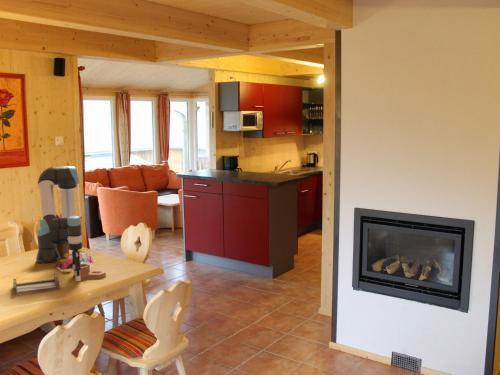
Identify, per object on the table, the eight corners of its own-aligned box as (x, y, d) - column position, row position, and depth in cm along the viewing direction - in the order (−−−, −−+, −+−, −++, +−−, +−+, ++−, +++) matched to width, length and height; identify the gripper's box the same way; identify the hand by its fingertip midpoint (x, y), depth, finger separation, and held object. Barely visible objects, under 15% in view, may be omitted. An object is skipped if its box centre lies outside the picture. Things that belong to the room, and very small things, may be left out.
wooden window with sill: (13, 286, 281) (13, 278, 280) (57, 281, 290) (56, 273, 290) (13, 296, 265) (13, 287, 265) (59, 289, 275) (59, 281, 274)
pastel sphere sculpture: (50, 266, 323) (49, 252, 322) (85, 259, 339) (84, 246, 337) (64, 274, 304) (64, 259, 303) (101, 267, 320) (100, 253, 319)
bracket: (73, 278, 295) (72, 267, 294) (78, 274, 303) (78, 263, 302) (102, 279, 294) (102, 267, 293) (107, 274, 302) (107, 263, 301)
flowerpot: (74, 252, 356) (72, 210, 352) (68, 257, 342) (66, 214, 338) (54, 252, 355) (51, 211, 351) (47, 257, 341) (44, 214, 337)
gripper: (66, 238, 302) (68, 273, 305) (70, 247, 280) (72, 284, 283) (79, 237, 305) (81, 271, 308) (84, 246, 283) (86, 282, 286)
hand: (77, 278), depth 295 cm, fingers open, 12 cm apart
